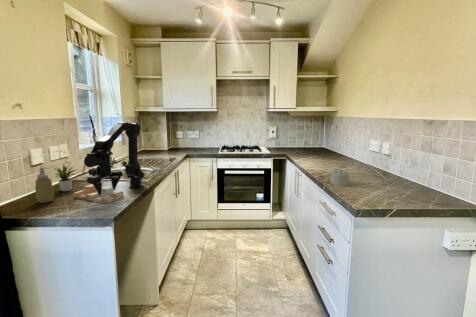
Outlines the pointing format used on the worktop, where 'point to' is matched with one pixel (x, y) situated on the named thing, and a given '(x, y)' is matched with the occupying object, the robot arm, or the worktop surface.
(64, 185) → the house plant
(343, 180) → the lumpy-topped squat cylinder
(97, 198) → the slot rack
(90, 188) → the terracotta block
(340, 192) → the worktop surface
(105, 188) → the blue-grey block
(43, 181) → the squeeze bottle
